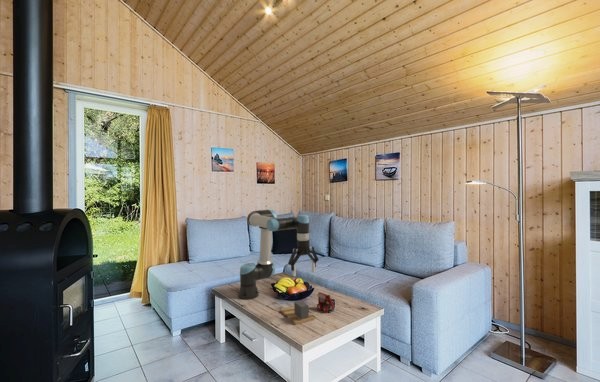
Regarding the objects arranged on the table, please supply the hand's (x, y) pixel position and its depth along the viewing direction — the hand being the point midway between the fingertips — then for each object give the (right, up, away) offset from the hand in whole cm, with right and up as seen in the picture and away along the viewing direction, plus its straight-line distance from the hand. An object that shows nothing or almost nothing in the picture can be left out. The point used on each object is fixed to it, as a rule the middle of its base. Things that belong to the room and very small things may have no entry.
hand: (303, 274), depth 179 cm
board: (-4, -27, +3) cm, 27 cm away
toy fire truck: (+14, -27, +11) cm, 32 cm away
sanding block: (-1, -25, -3) cm, 25 cm away
